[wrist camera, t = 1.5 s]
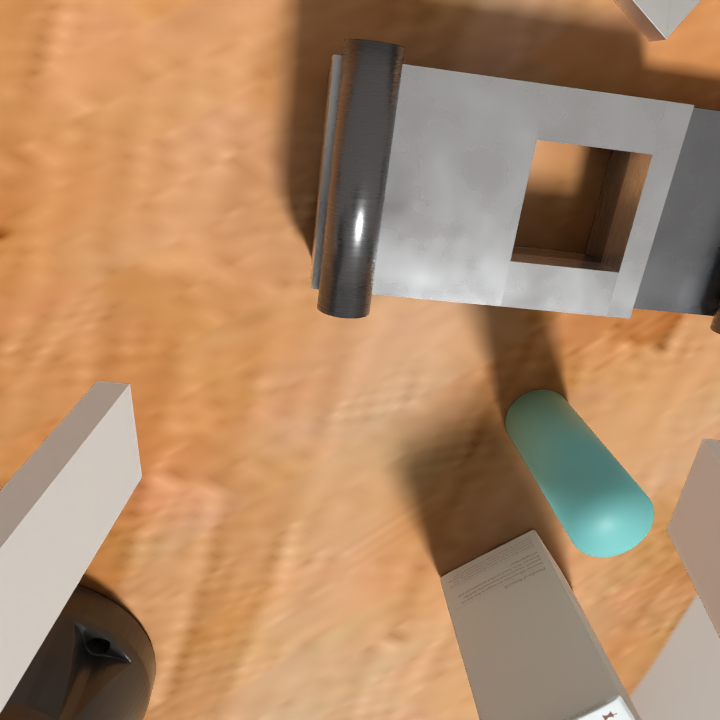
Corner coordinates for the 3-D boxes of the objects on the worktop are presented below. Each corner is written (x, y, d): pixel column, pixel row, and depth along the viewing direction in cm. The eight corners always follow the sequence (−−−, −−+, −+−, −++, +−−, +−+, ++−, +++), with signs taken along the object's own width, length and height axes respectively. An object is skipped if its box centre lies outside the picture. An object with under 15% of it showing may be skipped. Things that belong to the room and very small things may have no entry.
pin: (560, 449, 39) (639, 559, 30) (498, 445, 39) (559, 555, 29) (577, 391, 38) (665, 488, 28) (512, 386, 37) (581, 483, 28)
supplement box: (436, 575, 42) (486, 758, 31) (535, 525, 41) (625, 694, 30) (483, 642, 45) (545, 833, 33) (577, 597, 44) (674, 777, 32)
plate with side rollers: (724, 316, 36) (804, 359, 30) (309, 275, 33) (310, 315, 28) (797, 113, 32) (907, 117, 26) (331, 47, 29) (337, 35, 23)
